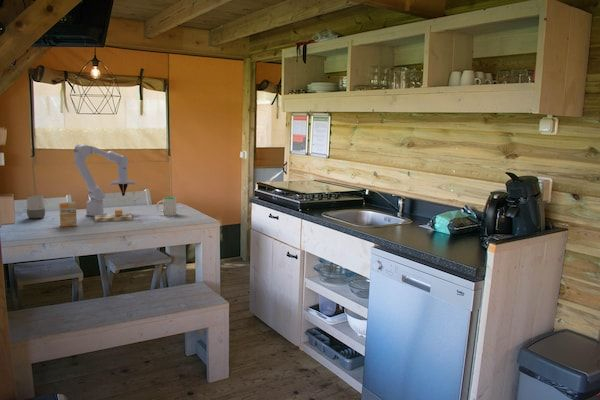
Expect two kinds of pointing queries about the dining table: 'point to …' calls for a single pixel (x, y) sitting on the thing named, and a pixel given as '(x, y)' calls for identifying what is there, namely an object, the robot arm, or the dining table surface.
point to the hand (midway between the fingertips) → (123, 195)
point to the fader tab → (118, 212)
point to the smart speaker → (35, 207)
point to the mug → (168, 206)
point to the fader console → (112, 217)
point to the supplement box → (68, 214)
